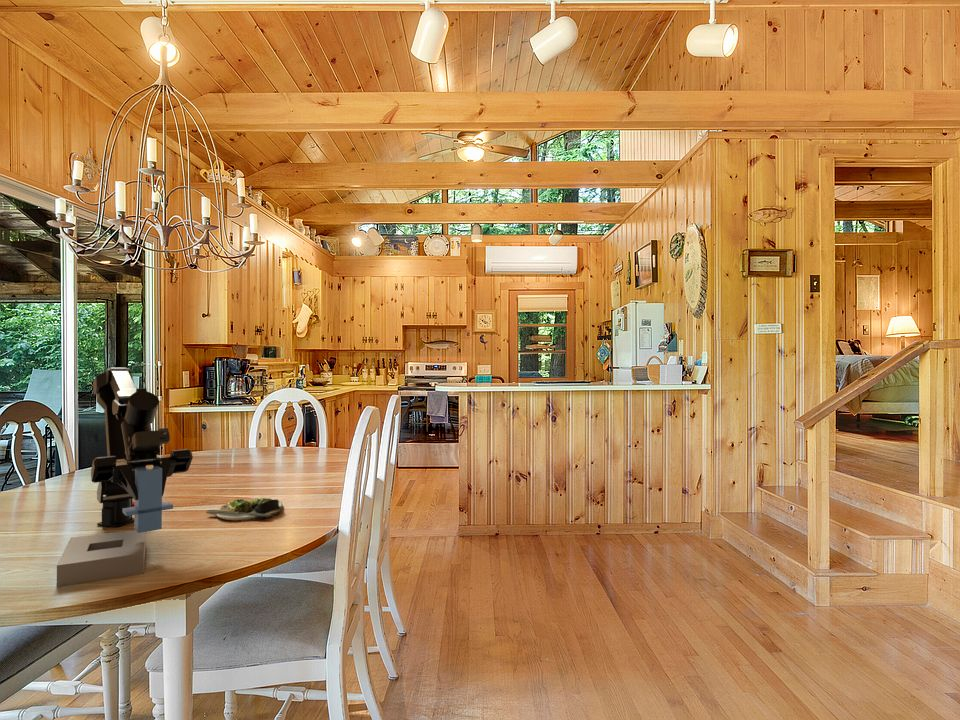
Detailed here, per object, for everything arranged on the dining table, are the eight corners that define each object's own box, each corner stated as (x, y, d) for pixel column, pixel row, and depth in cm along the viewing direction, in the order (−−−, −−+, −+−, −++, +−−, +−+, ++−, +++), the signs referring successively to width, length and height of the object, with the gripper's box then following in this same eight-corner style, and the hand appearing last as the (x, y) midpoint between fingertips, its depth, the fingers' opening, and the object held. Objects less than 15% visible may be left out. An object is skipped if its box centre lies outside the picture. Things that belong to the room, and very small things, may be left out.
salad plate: (200, 527, 143) (200, 509, 143) (211, 508, 160) (211, 492, 160) (280, 521, 149) (280, 504, 149) (283, 504, 166) (283, 488, 166)
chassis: (70, 556, 121) (70, 537, 121) (145, 545, 128) (146, 528, 128) (56, 586, 105) (56, 565, 105) (143, 573, 112) (143, 553, 112)
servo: (122, 531, 118) (123, 466, 118) (168, 523, 124) (169, 461, 124) (125, 535, 116) (126, 468, 116) (172, 526, 122) (173, 463, 122)
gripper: (93, 419, 116) (102, 481, 108) (190, 413, 129) (205, 469, 121) (87, 451, 122) (95, 513, 114) (180, 443, 135) (194, 498, 127)
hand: (149, 497), depth 119 cm, fingers closed on servo, 4 cm apart
